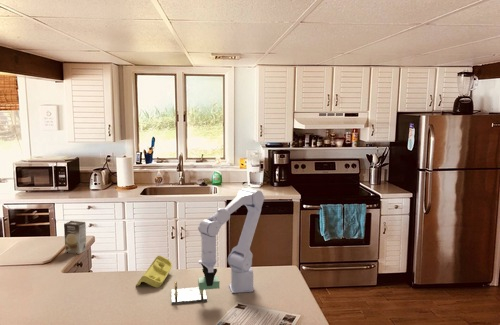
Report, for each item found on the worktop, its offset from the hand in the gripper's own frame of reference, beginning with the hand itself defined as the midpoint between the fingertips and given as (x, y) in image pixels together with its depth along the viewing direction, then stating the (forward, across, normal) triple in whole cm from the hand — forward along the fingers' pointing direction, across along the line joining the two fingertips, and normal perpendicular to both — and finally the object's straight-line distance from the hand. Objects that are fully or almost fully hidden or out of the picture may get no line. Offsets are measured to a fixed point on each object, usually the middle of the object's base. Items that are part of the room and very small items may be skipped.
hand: (208, 282), depth 150 cm
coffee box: (+9, -69, -65) cm, 95 cm away
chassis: (+8, -6, -8) cm, 13 cm away
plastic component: (+9, -26, -21) cm, 35 cm away
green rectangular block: (+2, 0, 0) cm, 2 cm away
